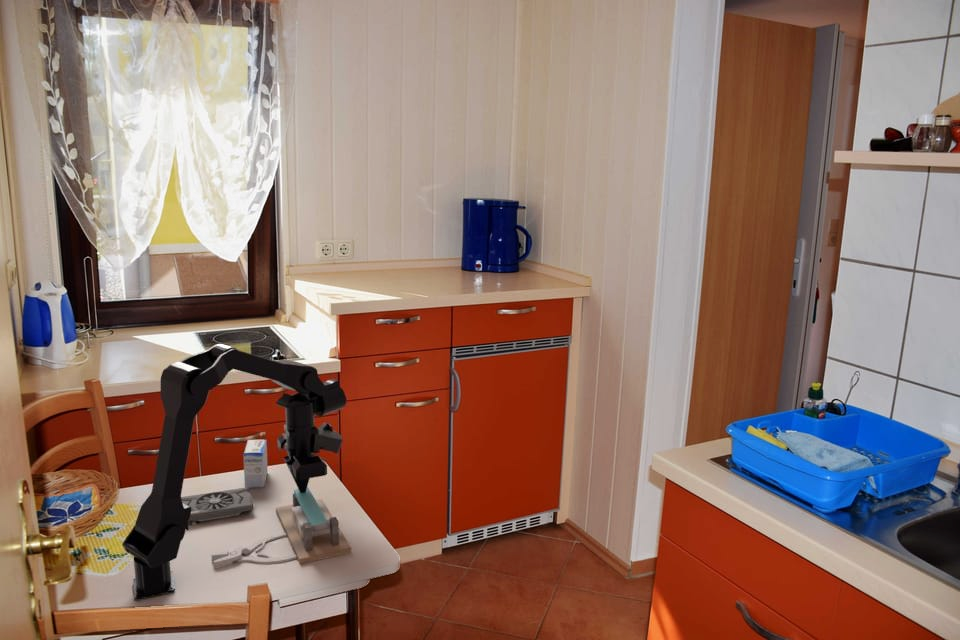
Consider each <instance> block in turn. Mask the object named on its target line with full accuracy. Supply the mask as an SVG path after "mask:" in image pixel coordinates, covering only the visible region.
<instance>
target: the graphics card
mask: <svg viewBox="0 0 960 640" xmlns="http://www.w3.org/2000/svg"><path fill="white" fill-rule="evenodd" d="M181 499H182V503H184V504H186V505H188V506H189V507H191V514H190V517H189V521H188V526H191V524H192V525H193V526H194V525H197V521H198V523H201V522H206V521H212V520H217V519H222V518H229V517H234V516H235V517H236V516H239V515H240V514H241V513H242V512H248V511H252V510H253V509H254V502H253V496H252V495H251V494H250V488H245V487H240V488H239V487H238V488H233V489H226V490H220V491H213V492H205V493H199V494H193V495H187V496H181Z"/></svg>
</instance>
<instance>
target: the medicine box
mask: <svg viewBox="0 0 960 640" xmlns="http://www.w3.org/2000/svg"><path fill="white" fill-rule="evenodd" d="M267 441H268V440H267V439H248V440H247V442H246V445H245V448H244V450H243V451H244V452H243V472H244V473H243V477H244V479H243V480H244V488H249V489H254V487H255V488H264V487H265V485H266V479H267V473H268V447H267V445H268V444H267Z"/></svg>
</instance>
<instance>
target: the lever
mask: <svg viewBox="0 0 960 640" xmlns="http://www.w3.org/2000/svg"><path fill="white" fill-rule="evenodd" d="M293 494H295V496H296V498H297V500H298V502H299V504H300V506H301V507H302V509H303V511H304V513H305V515H306V517H307V519H308V521H309V522H310V524H311V526H312V531H313V532H315V531H320V530H325V529H330V524H329V522H327V520H326V518H325V516H324V514H323V513H322V511H321V509H320V507H319V506H318V504H317V502H316V500H317V499H316V498H315V497H314V494H313V493H312V491H311V489H310V488H309V486H307V489H306V492H304V493H300V491H299V489H298V488H297V489H296V488H295V489H293Z"/></svg>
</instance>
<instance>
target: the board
mask: <svg viewBox="0 0 960 640" xmlns="http://www.w3.org/2000/svg"><path fill="white" fill-rule="evenodd" d="M315 500H316V502H317V504H318V506H319V507H320V509H321V511H322V513H323V514H324V516H325V518H326V520H327V522H329V524H330V529H325V530H320V531H315V532H313V531H312V526H311V524H310V522H309V521H308V519H307V517H306V515H305V513H304V511H303V509H302V507H301V506H297V507H293V503H292V504H288V505H287V504H286V505H282V506H278V507H277V506H276V507H275V513H276V515H277V518H278V520H279V522H280V524H281V526H282V529H283V530H284V533H286V534H287V536H286V537H287V540H288V542H289V545H290V546H291V549H292V550H293V553H294V555H296V556H297V558H296V559H297V562H298V564H299V565H301V564H305V563H309V562H313V561H318V560H323V559H327V558H332V557H336V556H337V557H338V556H340V555H341V556H342V555H345V554H346V555H347V554H349V553H352V547H351V545H350V543H349V541H348V540H347V539H346V537H345V536H344V533H343V532H342V530H341V528H340V525H339V522H340V521H339V520H338V518H337V516H333V515H332V513H331V512H330V511H329V508H328V507H327V504H325V502H324V500H323V499H322V498H319V499H315Z"/></svg>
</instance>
